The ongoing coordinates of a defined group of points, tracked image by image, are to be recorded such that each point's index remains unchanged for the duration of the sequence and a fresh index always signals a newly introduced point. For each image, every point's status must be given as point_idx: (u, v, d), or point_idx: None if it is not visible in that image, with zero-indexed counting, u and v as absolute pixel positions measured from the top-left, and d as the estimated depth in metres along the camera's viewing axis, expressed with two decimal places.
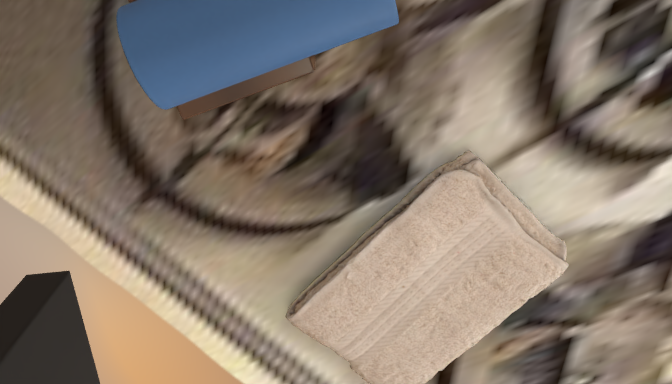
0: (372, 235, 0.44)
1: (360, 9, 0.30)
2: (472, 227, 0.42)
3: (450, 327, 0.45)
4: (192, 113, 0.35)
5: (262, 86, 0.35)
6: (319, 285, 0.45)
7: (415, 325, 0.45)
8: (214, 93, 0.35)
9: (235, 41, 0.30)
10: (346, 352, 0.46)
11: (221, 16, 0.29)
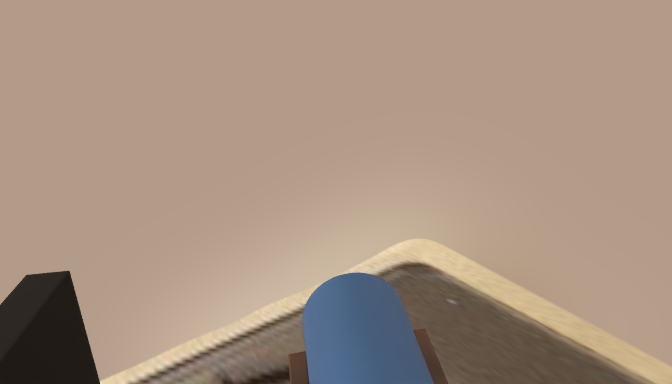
0: None
1: None
2: None
3: None
4: (291, 360, 0.34)
5: None
6: None
7: None
8: (305, 377, 0.33)
9: (348, 333, 0.29)
10: None
11: (374, 326, 0.29)
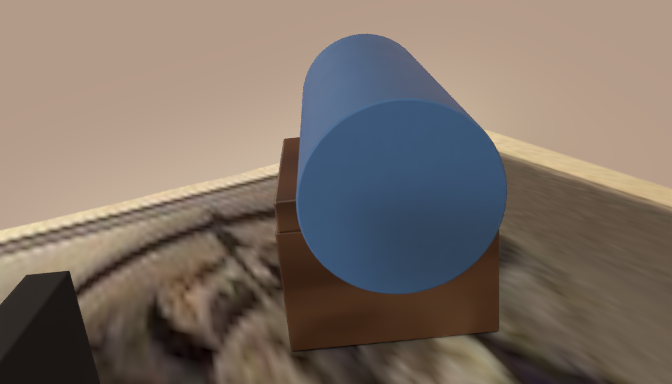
0: None
1: (342, 100, 0.17)
2: None
3: None
4: (286, 141, 0.29)
5: (284, 173, 0.25)
6: None
7: None
8: None
9: (353, 55, 0.23)
10: None
11: (387, 51, 0.23)
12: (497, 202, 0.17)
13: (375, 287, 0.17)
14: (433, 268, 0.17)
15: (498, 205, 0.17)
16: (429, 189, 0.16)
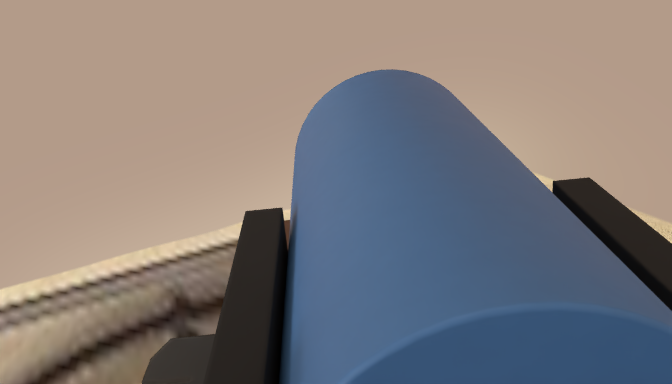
0: None
1: (376, 265, 0.08)
2: None
3: None
4: None
5: None
6: None
7: None
8: None
9: (378, 118, 0.13)
10: None
11: (436, 111, 0.13)
12: None
13: None
14: None
15: None
16: None
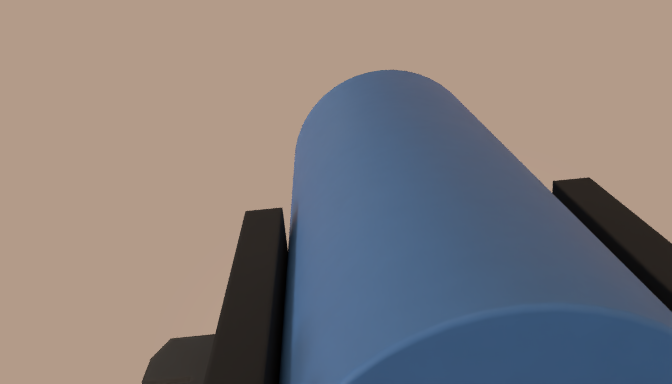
0: None
1: (375, 265, 0.08)
2: None
3: None
4: None
5: None
6: None
7: None
8: None
9: (378, 118, 0.13)
10: None
11: (436, 111, 0.13)
12: None
13: None
14: None
15: None
16: None
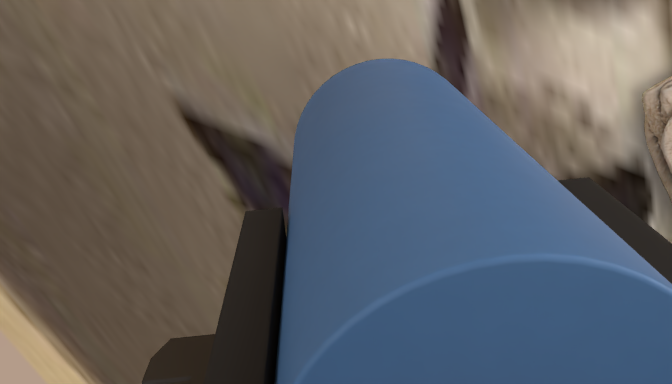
0: None
1: (372, 228, 0.08)
2: None
3: None
4: None
5: None
6: None
7: None
8: None
9: (375, 101, 0.14)
10: None
11: (433, 94, 0.14)
12: None
13: None
14: None
15: None
16: None
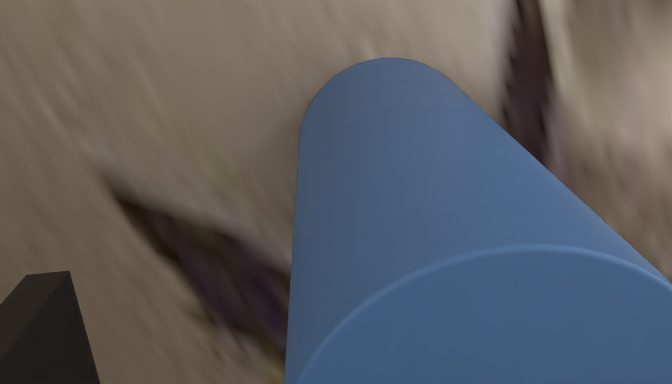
0: None
1: (378, 221, 0.08)
2: None
3: None
4: None
5: None
6: None
7: None
8: None
9: (380, 100, 0.14)
10: None
11: (435, 93, 0.14)
12: None
13: None
14: None
15: None
16: None
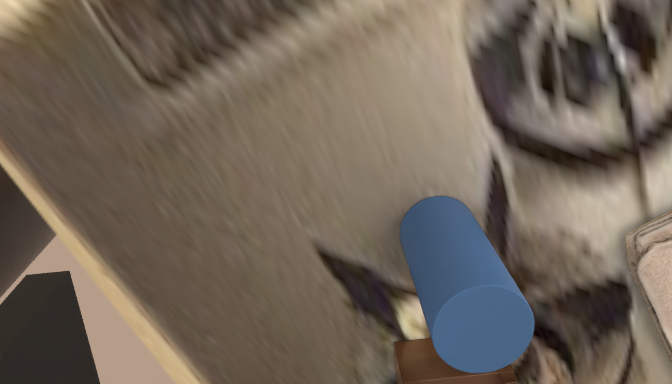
0: None
1: (452, 277, 0.35)
2: None
3: None
4: None
5: None
6: None
7: None
8: None
9: (442, 227, 0.40)
10: None
11: (461, 224, 0.40)
12: (529, 330, 0.34)
13: (467, 370, 0.35)
14: (497, 361, 0.35)
15: (530, 331, 0.34)
16: (496, 324, 0.34)
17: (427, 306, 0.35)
